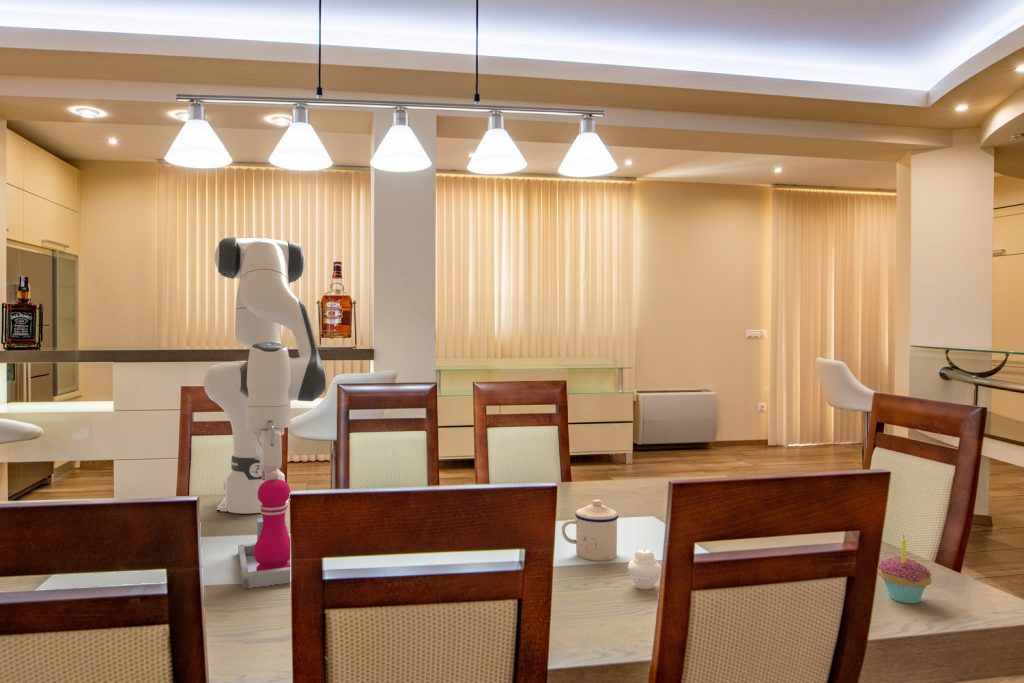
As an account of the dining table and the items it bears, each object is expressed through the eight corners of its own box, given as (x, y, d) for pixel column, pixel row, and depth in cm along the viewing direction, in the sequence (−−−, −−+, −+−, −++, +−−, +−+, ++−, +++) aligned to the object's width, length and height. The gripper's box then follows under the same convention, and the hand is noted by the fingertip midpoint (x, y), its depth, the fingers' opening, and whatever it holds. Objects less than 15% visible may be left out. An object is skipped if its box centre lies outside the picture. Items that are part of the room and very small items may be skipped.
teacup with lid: (615, 548, 150) (615, 495, 150) (620, 562, 141) (620, 506, 141) (560, 547, 150) (561, 494, 150) (562, 560, 141) (562, 505, 141)
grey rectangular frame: (238, 553, 144) (238, 520, 144) (294, 547, 149) (294, 515, 149) (243, 589, 124) (243, 551, 124) (308, 580, 129) (308, 543, 129)
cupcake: (930, 611, 117) (931, 542, 117) (874, 601, 121) (875, 534, 121) (931, 595, 124) (932, 530, 124) (878, 586, 129) (879, 523, 129)
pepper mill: (280, 582, 127) (281, 476, 127) (245, 579, 129) (246, 474, 129) (300, 569, 135) (300, 468, 134) (266, 566, 136) (267, 467, 136)
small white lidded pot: (620, 585, 128) (621, 547, 128) (642, 578, 132) (643, 542, 132) (645, 595, 123) (646, 556, 123) (667, 587, 127) (668, 550, 127)
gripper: (289, 423, 136) (288, 492, 136) (279, 414, 155) (279, 474, 155) (255, 424, 134) (255, 495, 134) (249, 415, 153) (249, 476, 152)
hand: (267, 484), depth 145 cm, fingers open, 8 cm apart
